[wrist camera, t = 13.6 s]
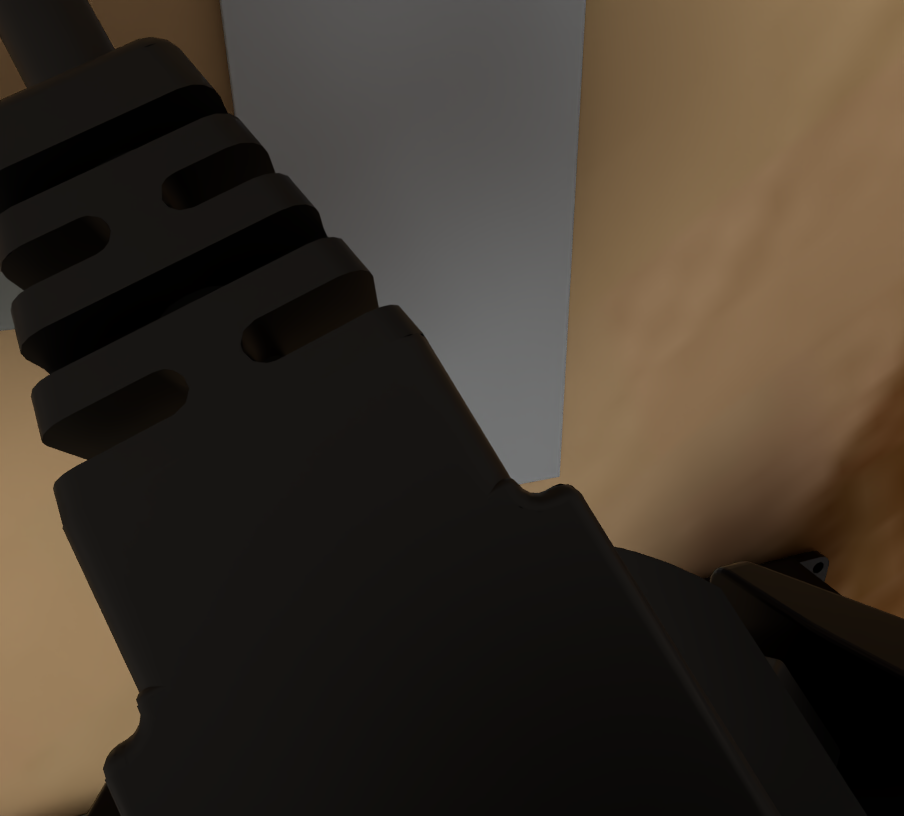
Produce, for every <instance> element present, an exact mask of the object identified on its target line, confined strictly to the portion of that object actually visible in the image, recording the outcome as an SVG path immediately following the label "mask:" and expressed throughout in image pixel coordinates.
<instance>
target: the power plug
mask: <svg viewBox="0 0 904 816" xmlns="http://www.w3.org/2000/svg"><path fill="white" fill-rule="evenodd" d="M0 37H1V39H2V41H3V43H4V45H5V47H6V49H7V51H8V52H9V54H10V56H11V58H12V60H13V62H14V64H15V66H16V68H17V70H18V72H19V74H20V76H21V77H22V79H23V81H24V83H25V85H26V87H27V89H24V90H22V91H20V92H18V93H15V94H13V95H11V96H9V97H6V98H4V99H2V100H0V269H1V272H2V273H3V274H4V276H5V277H6V278H7V279H8V280H10V281H11V282H12V283H14V284H15V285H17V286H18V287H19V288H21V289H22V290H24V291H23V292H21V293H20V294H18V296H17V297H16V298H15V299H14V300H13V302H12V304H11V315H12V319H13V323H14V327H15V331H16V335H17V340H18V344H19V348H20V352H21V354H22V355H23V356H24V357H25V358H26V359H27V360H29V361H30V362H32V363H34V364H36V365H38V366H40V367H41V368H43V369H45V370H46V371H47V372H48V373H49V374H50V375H48V376H47V377H45V378H44V379H42V380H41V381H39V382H38V383H37V385H36V386H35V387H34V388H33V389H32V394H31V398H32V402H33V407H34V411H35V415H36V419H37V423H38V428H39V432H40V436H41V440H42V443H44V444H45V445H47V446H49V447H52V448H55V449H58V450H61V451H63V452H66V453H69V454H72V455H75V456H78V457H81V458H84V459H87V461H85V462H83V463H81V464H79V465H77V466H76V467H74V468H72V469H71V470H69V471H67V472H66V473H65V474H63V475H62V476H61V477H60V478H59V479H58V480H57V481H56V482H55V484H54V487H53V490H54V494H55V498H56V501H57V505H58V509H59V513H60V517H61V520H62V524H63V530H64V532H65V534H66V536H67V539H68V541H69V543H70V545H71V547H72V549H73V551H74V554H75V556H76V558H77V560H78V562H79V564H80V566H81V569H82V571H83V573H84V575H85V577H86V579H87V581H88V584H89V586H90V588H91V590H92V592H93V594H94V596H95V599H96V601H97V603H98V605H99V607H100V609H101V611H102V613H103V616H104V618H105V620H106V622H107V624H108V626H109V628H110V631H111V633H112V635H113V637H114V639H115V641H116V643H117V646H118V648H119V650H120V652H121V654H122V656H123V658H124V661H125V663H126V665H127V667H128V669H129V671H130V673H131V676H132V678H133V680H134V682H135V684H136V686H137V688H138V691H139V694H138V697H137V699H136V701H137V703H138V706H137V707H138V710H139V712H140V715H141V716H140V723H139V726H138V727H137V729H136V731H135V733H134V734H133V735H132V736H130V737H129V738H128V739H127V740H125V741H123V742H122V743H120V744H118V745H117V746H116V747H115V748H114V749H113V750H112V751H111V752H110V753H109V755H108V756H107V758H106V761H105V764H104V767H103V770H104V774H105V777H106V779H105V782H106V784H107V786H108V788H109V791H110V793H111V795H112V797H113V799H114V802H115V804H116V806H117V808H118V811H119V813H120V815H121V816H867V814H866V813H865V811H864V810H863V808H862V807H861V805H860V804H859V802H858V800H857V799H856V797H855V796H854V794H853V793H852V791H851V790H850V788H849V786H848V785H847V783H846V782H845V780H844V779H843V777H842V776H841V774H840V773H839V771H838V769H837V768H836V766H837V762H838V759H839V755H840V750H839V748H838V746H837V744H836V743H835V741H834V740H833V738H832V737H831V735H830V734H829V732H828V730H827V729H826V727H825V726H824V724H823V723H822V721H821V720H820V718H819V717H818V715H817V713H816V712H815V710H814V709H813V707H812V706H811V704H810V703H809V701H808V700H807V698H806V696H805V695H804V693H803V692H802V690H801V689H800V687H799V686H798V684H797V683H796V681H795V680H794V678H793V676H792V675H791V673H790V672H789V670H788V669H787V667H786V666H785V664H784V663H783V662H782V661H781V660H779V659H774V658H770V657H766V656H764V655H763V653H762V651H761V650H760V648H759V647H758V645H757V644H756V642H755V641H754V639H753V637H752V636H751V634H750V633H749V631H748V630H747V628H746V627H745V625H744V623H743V622H742V620H741V619H740V617H739V616H738V614H737V613H736V611H735V610H734V608H733V606H732V605H731V603H730V602H729V600H728V599H727V597H726V596H725V594H724V592H723V591H722V589H721V588H719V587H718V586H716V585H714V584H712V583H710V582H708V581H706V580H705V579H703V578H701V577H699V576H697V575H694V574H692V573H690V572H688V571H685V570H683V569H681V568H679V567H676V566H674V565H672V564H670V563H667V562H664V561H661V560H658V559H655V558H652V557H649V556H646V555H644V554H641V553H638V552H634V551H630V550H626V549H623V548H618V547H614V546H613V545H612V543H611V541H610V540H609V538H608V536H607V535H606V533H605V532H604V530H603V528H602V527H601V525H600V524H599V522H598V520H597V519H596V517H595V516H594V514H593V512H592V511H591V509H590V507H589V506H588V504H587V503H586V501H585V499H584V497H583V496H582V494H581V493H580V492H579V491H578V490H576V489H575V488H574V487H573V486H571V485H569V484H566V485H565V484H558V485H555V486H552V487H551V488H549V489H547V490H546V491H543V492H540V493H530V492H528V491H526V490H524V489H522V488H521V486H520V485H519V484H518V483H517V482H516V481H515V480H514V479H512V478H511V477H510V475H509V474H508V472H507V471H506V469H505V467H504V466H503V464H502V462H501V461H500V459H499V457H498V456H497V454H496V452H495V451H494V449H493V447H492V446H491V444H490V443H489V441H488V439H487V438H486V436H485V434H484V433H483V431H482V429H481V428H480V426H479V424H478V423H477V421H476V419H475V418H474V416H473V415H472V413H471V411H470V410H469V408H468V406H467V405H466V403H465V401H464V400H463V398H462V396H461V395H460V393H459V391H458V390H457V388H456V387H455V385H454V383H453V382H452V380H451V378H450V377H449V375H448V373H447V372H446V370H445V368H444V367H443V365H442V364H441V362H440V360H439V359H438V357H437V355H436V354H435V352H434V350H433V349H432V347H431V345H430V344H429V342H428V340H427V339H426V337H425V335H424V334H423V333H422V332H421V330H420V329H419V328H418V327H417V326H416V325H415V324H414V322H413V321H412V320H411V319H410V318H409V317H408V315H407V314H406V313H405V312H404V311H403V310H402V309H401V307H400V306H399V305H386V306H382V307H379V306H378V300H377V294H376V289H375V283H374V277H373V275H372V274H371V272H370V271H369V270H368V269H367V268H366V266H365V265H364V264H363V263H362V262H361V261H360V259H359V258H358V257H357V256H356V255H355V254H354V252H353V251H352V250H351V249H350V248H349V247H348V245H347V244H346V243H345V242H344V241H343V239H341V238H337V237H328V236H327V234H326V232H325V230H324V227H323V224H322V220H321V217H320V214H319V212H318V210H317V209H316V208H315V207H314V206H313V204H312V203H311V202H310V201H309V200H308V199H307V197H306V196H305V195H304V194H303V193H302V192H301V190H300V189H299V188H298V187H297V186H296V185H295V183H294V182H293V181H292V180H291V179H290V177H289V176H287V175H284V174H281V173H275V170H274V167H273V165H272V162H271V159H270V157H269V154H268V152H267V151H266V150H265V148H264V147H263V146H262V145H261V144H260V142H259V141H258V140H257V139H256V138H255V136H254V135H253V134H252V133H251V132H250V131H249V129H248V128H247V127H246V126H245V125H244V124H243V122H242V121H241V120H240V119H239V118H238V117H236V116H234V115H231V114H228V112H227V111H226V108H225V106H224V104H223V102H222V99H221V97H220V96H219V95H218V93H217V92H216V91H215V90H214V88H213V87H212V86H211V85H210V84H209V83H208V81H207V80H206V79H205V78H204V77H203V76H202V74H201V73H200V72H199V71H198V70H197V69H196V67H195V66H194V65H193V64H192V63H191V61H190V60H189V59H188V58H187V57H186V56H185V54H184V53H183V52H182V51H181V50H180V49H179V48H178V47H177V46H175V45H174V44H172V43H171V42H170V41H168V40H165V39H159V38H154V37H148V38H142V39H138V40H135V41H133V42H131V43H129V44H126V45H124V46H122V47H119V48H117V49H114V47H113V45H112V44H111V42H110V40H109V38H108V36H107V35H106V33H105V31H104V29H103V27H102V26H101V24H100V22H99V20H98V18H97V17H96V15H95V13H94V11H93V9H92V8H91V6H90V4H89V2H88V0H0ZM124 756H125V757H124ZM125 759H126V760H125Z"/></svg>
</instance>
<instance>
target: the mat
mask: <svg viewBox="0 0 904 816" xmlns="http://www.w3.org/2000/svg"><path fill="white" fill-rule="evenodd" d="M585 6H586V0H220V8H221V15H222V23H223V31H224V38H225V46H226V54H227V61H228V69H229V77H230V84H231V92H232V100H233V107H234V115H235V116H236V117H238V118H239V119H240V120H241V121H242V122H243V124H244V125H245V126H246V127H247V128H248V129H249V131H250V132H251V133H252V134H253V135H254V136H255V138H256V139H257V140H258V141H259V142H260V144H261V145H262V146H263V147H264V148H265V150H266V151H267V152H268V154H269V157H270V159H271V162H272V165H273V167H274V170H275V173H281V174H284V175H287V176H289V177H290V179H291V180H292V181H293V182H294V183H295V185H296V186H297V187H298V188H299V189H300V190H301V192H302V193H303V194H304V195H305V196H306V197H307V199H308V200H309V201H310V202H311V203H312V204H313V206H314V207H315V208H316V209H317V210H318V212H319V214H320V217H321V220H322V224H323V227H324V230H325V232H326V234H327V236H328V237H337V238H341V239H343V241H344V242H345V243H346V244H347V245H348V247H349V248H350V249H351V250H352V251H353V252H354V254H355V255H356V256H357V257H358V258H359V259H360V261H361V262H362V263H363V264H364V265H365V266H366V268H367V269H368V270H369V271H370V272H371V274H372V275H373V277H374V283H375V289H376V294H377V300H378V306H379V307H382V306H386V305H399V306H400V307H401V309H402V310H403V311H404V312H405V313H406V314H407V315H408V317H409V318H410V319H411V320H412V321H413V322H414V324H415V325H416V326H417V327H418V328H419V329H420V330H421V332H422V333H423V334H424V335H425V337H426V339H427V340H428V342H429V344H430V345H431V347H432V349H433V350H434V352H435V354H436V355H437V357H438V359H439V360H440V362H441V364H442V365H443V367H444V368H445V370H446V372H447V373H448V375H449V377H450V378H451V380H452V382H453V383H454V385H455V387H456V388H457V390H458V391H459V393H460V395H461V396H462V398H463V400H464V401H465V403H466V405H467V406H468V408H469V410H470V411H471V413H472V415H473V416H474V418H475V419H476V421H477V423H478V424H479V426H480V428H481V429H482V431H483V433H484V434H485V436H486V438H487V439H488V441H489V443H490V444H491V446H492V447H493V449H494V451H495V452H496V454H497V456H498V457H499V459H500V461H501V462H502V464H503V466H504V467H505V469H506V471H507V472H508V474H509V475H510V477H511V478H512V479H514V480H515V481H516V482H517V483H518V484H523V483H528V482H534V481H539V480H544V479H549V478H554V477H560V459H561V441H562V422H563V404H564V386H565V368H566V350H567V332H568V314H569V296H570V278H571V259H572V241H573V223H574V205H575V187H576V169H577V151H578V133H579V115H580V96H581V78H582V60H583V42H584V24H585Z"/></svg>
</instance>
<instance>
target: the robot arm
mask: <svg viewBox="0 0 904 816" xmlns="http://www.w3.org/2000/svg"><path fill="white" fill-rule="evenodd" d="M828 566H829V560H828V558H826V557H825V556H824V555H822V554H821V553H820V552H818V551H811V552H807V553H803V554H799V555H796V556H792V557H788V558H784V559H780V560H776V561H772V562H768V563H764V564H760V565H757V564H755V563H752V562H747V561H742V562H737V563H733V564H730V565H726V566H722V567H719V568H717V569H716V570H715V571H714V572H713V574H712V575H711V577H709V578H705V580H706V581H708V582H710V583H712V584H714V585H716V586H718V587H719V588H721V589H722V591H723V592H724V594H725V596H726V597H727V599H728V600H729V602H730V603H731V605H732V606H733V608H734V610H735V611H736V613H737V614H738V616H739V617H740V619H741V620H742V622H743V623H744V625H745V627H746V628H747V630H748V631H749V633H750V634H751V636H752V637H753V639H754V641H755V642H756V644H757V645H758V647H759V648H760V650H761V651H762V653H763V655H764V656H766V657H770V658H774V659H779V660H781V661H782V662H783V663H784V664H785V666H786V667H787V669H788V670H789V672H790V673H791V675H792V676H793V678H794V680H795V681H796V683H797V684H798V686H799V687H800V689H801V690H802V692H803V693H804V695H805V696H806V698H807V700H808V701H809V703H810V704H811V706H812V707H813V709H814V710H815V712H816V713H817V715H818V717H819V718H820V720H821V721H822V723H823V724H824V726H825V727H826V729H827V730H828V732H829V734H830V735H831V737H832V738H833V740H834V741H835V743H836V744H837V746H838V748H839V750H840V755H839V759H838V762H837V766H836V768H837V769H838V771H839V773H840V774H841V776H842V777H843V779H844V780H845V782H846V783H847V785H848V786H849V788H850V790H851V791H852V793H853V794H854V796H855V797H856V799H857V800H858V802H859V804H860V805H861V807H862V808H863V810H864V811H865V813H866V814H867V816H904V619H903V618H900V617H898V616H895V615H892V614H889V613H887V612H884V611H881V610H879V609H876V608H873V607H871V606H868V605H865V604H862V603H860V602H857V601H854V600H852V599H849V598H846V597H844V596H842V595H840V594H839V593H838V592H837V591H835V590H834V589H833V588H831V587H830V586H829V585H828V584H826V583H825V578H826V574H827V570H828ZM124 757H125V756H124ZM125 760H126V759H125ZM86 816H121V815H120V813H119V811H118V808H117V806H116V804H115V802H114V799H113V797H112V795H111V793H110V791H109V788H108V786H107V784H106V783H105V785H104V786H103V788H102V790H101V791H100V793H99V795H98V796H97V798H96V800H95V801H94V803H93V805H92V806H91V808H90V810H89V812H88V813H87V815H86Z"/></svg>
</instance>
